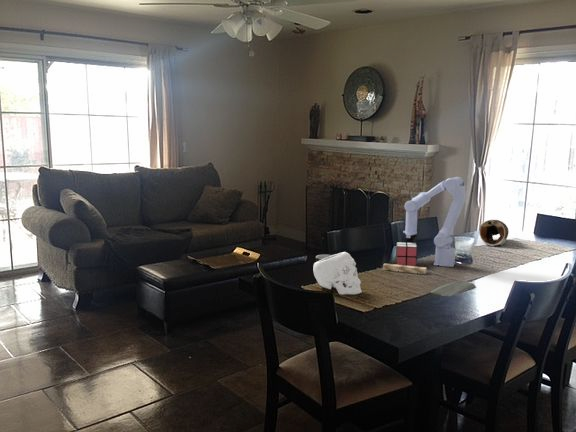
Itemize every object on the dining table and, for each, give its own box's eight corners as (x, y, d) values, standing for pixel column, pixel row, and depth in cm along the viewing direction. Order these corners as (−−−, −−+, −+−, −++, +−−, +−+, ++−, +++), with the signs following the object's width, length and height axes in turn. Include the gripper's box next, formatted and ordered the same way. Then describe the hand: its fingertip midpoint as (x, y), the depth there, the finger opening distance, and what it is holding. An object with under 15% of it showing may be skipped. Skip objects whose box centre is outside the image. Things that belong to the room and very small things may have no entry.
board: (426, 272, 244) (426, 267, 244) (425, 274, 241) (425, 269, 241) (384, 268, 252) (384, 263, 251) (382, 269, 249) (383, 264, 249)
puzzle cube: (416, 267, 255) (417, 247, 253) (395, 266, 257) (396, 246, 255) (415, 262, 264) (416, 242, 263) (395, 261, 266) (396, 242, 265)
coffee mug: (321, 281, 230) (322, 260, 228) (312, 277, 237) (312, 255, 236) (343, 278, 235) (344, 257, 233) (333, 273, 243) (333, 253, 241)
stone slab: (476, 290, 222) (455, 282, 229) (477, 284, 222) (457, 276, 229) (448, 302, 208) (427, 293, 215) (449, 296, 207) (428, 287, 214)
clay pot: (513, 220, 315) (505, 218, 295) (514, 245, 314) (506, 245, 293) (488, 221, 323) (478, 219, 303) (489, 246, 322) (479, 245, 302)
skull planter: (356, 295, 205) (338, 250, 208) (319, 308, 217) (303, 266, 220) (373, 287, 215) (356, 244, 218) (337, 300, 228) (322, 259, 231)
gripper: (406, 220, 275) (405, 245, 278) (400, 225, 262) (399, 251, 265) (419, 221, 273) (418, 246, 275) (414, 226, 260) (413, 252, 262)
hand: (410, 249), depth 270 cm, fingers closed
